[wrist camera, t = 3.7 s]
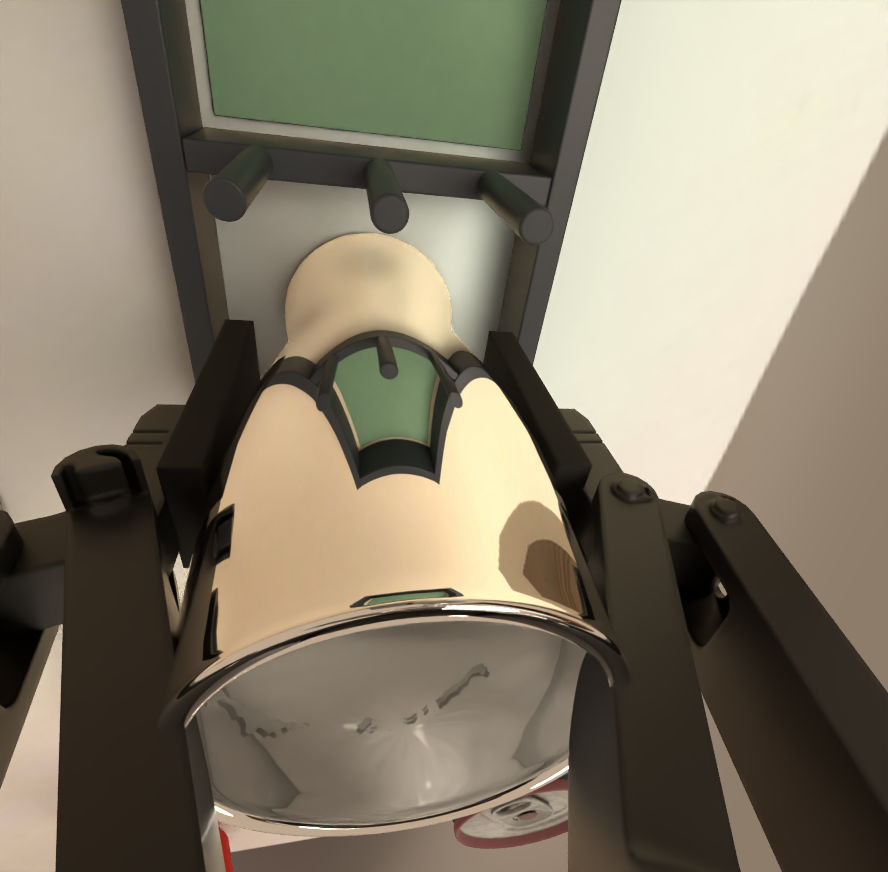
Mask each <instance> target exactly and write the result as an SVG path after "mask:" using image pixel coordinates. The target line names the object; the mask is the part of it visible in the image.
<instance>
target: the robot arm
mask: <svg viewBox="0 0 888 872" xmlns="http://www.w3.org/2000/svg"><path fill="white" fill-rule="evenodd" d="M483 364H484V366H485V367H486V368H487V369H488V370H489V371H490V372H491V374H492V375H493V376H494V377H495V379H496V380H497V381H498V383H499V384H500V385H501V387H502V388H503V389H504V391H505V392H506V393H507V395H508V396H509V397H510V399H511V400H512V401H513V403H514V404H515V405H516V407H517V408H518V410H519V411H520V413H521V414H522V416H523V418H524V420H525V421H526V423H527V425H528V427H529V429H530V430H531V432H532V434H533V436H534V438H535V439H536V441H537V443H538V445H539V447H540V448H541V450H542V452H543V454H544V456H545V458H546V460H547V462H548V464H549V466H550V469H551V471H552V473H553V475H554V478H555V480H556V482H557V485H558V487H559V489H560V491H561V494H562V496H563V498H564V500H565V503H566V505H567V507H568V510H569V512H570V515H571V517H572V520H573V523H574V525H575V528H576V530H577V533H578V536H579V538H580V541H581V544H582V546H583V549H584V552H585V554H586V557H587V559H588V562H589V565H590V568H591V571H592V574H593V577H594V579H595V582H596V585H597V588H598V591H599V594H600V597H601V599H602V602H603V605H604V608H605V610H606V613H607V616H608V618H609V621H610V624H611V626H612V629H613V632H614V634H615V637H616V639H617V642H618V644H619V646H620V649H621V650H622V651H623V653H624V655H625V657H626V658H627V660H628V663H629V665H630V668H631V672H632V677H633V681H632V683H630V684H627V685H616V684H613V685H612V686H611V687H609V685H608V679H607V676H606V674H605V672H604V670H603V668H602V667H601V665H600V664H599V663H598V662H597V661H596V660H595V658H593V657H592V656H591V655H590V654H589V653H587V652H586V654H585V656H584V659H583V662H582V665H581V668H580V672H579V676H578V681H577V686H576V691H575V697H574V704H573V711H572V718H571V727H570V737H569V758H568V872H741V871H740V867H739V864H738V859H737V855H736V850H735V846H734V841H733V837H732V832H731V827H730V823H729V818H728V814H727V809H726V805H725V801H724V796H723V791H722V786H721V782H720V777H719V773H718V768H717V763H716V759H715V754H714V750H713V745H712V741H711V736H710V731H709V727H708V722H707V718H706V713H705V709H704V704H703V700H702V695H701V693H702V694H703V697H704V699H705V701H706V704H707V705H708V708H709V710H710V713H711V715H712V717H713V719H714V721H715V724H716V726H717V728H718V730H719V733H720V734H721V737H722V739H723V741H724V744H725V746H726V748H727V750H728V753H729V754H730V757H731V759H732V761H733V764H734V766H735V768H736V770H737V772H738V775H739V777H740V779H741V781H742V784H743V786H744V788H745V790H746V793H747V795H748V797H749V799H750V801H751V804H752V806H753V808H754V810H755V813H756V815H757V817H758V819H759V821H760V823H761V826H762V828H763V830H764V833H765V835H766V837H767V839H768V841H769V844H770V846H771V848H772V850H773V853H774V855H775V857H776V859H777V861H778V864H779V866H780V868H781V870H782V872H888V692H887V691H886V690H885V688H884V687H883V686H882V684H881V683H880V682H879V680H878V679H877V678H876V676H875V675H874V674H873V672H872V671H871V670H870V668H869V667H868V666H867V664H866V663H865V662H864V660H863V659H862V658H861V656H860V655H859V654H858V652H857V651H856V650H855V648H854V647H853V646H852V644H851V643H850V642H849V640H848V639H847V638H846V636H845V635H844V634H843V632H842V631H841V630H840V629H839V627H838V626H837V624H836V623H835V622H834V620H833V619H832V618H831V616H830V615H829V614H828V612H827V611H826V610H825V608H824V607H823V605H822V604H821V603H820V602H819V601H818V599H817V597H816V596H815V595H814V593H813V592H812V591H811V590H810V588H809V587H808V585H807V584H806V583H805V581H804V580H803V579H802V578H801V576H800V575H799V573H798V572H797V571H796V569H795V568H794V567H793V565H792V564H791V563H790V562H789V560H788V559H787V557H786V556H785V555H784V553H783V552H782V551H781V549H780V548H779V547H778V546H777V544H776V543H775V542H774V540H773V539H772V537H771V536H770V535H769V533H768V532H767V531H766V529H765V528H764V527H763V525H762V524H761V523H760V521H759V520H758V519H757V517H756V516H755V515H754V513H753V512H752V511H751V510H750V509H749V508H748V507H747V506H746V505H744V504H743V503H741V502H740V501H738V500H737V499H735V498H733V497H731V496H728V495H726V494H723V493H718V492H713V491H707V492H701V493H699V494H698V495H696V496H695V498H694V500H693V502H692V504H691V505H685V504H680V503H676V502H671V501H666V500H662V499H659V498H658V496H657V494H656V492H655V490H654V489H653V488H652V487H651V486H650V485H649V484H648V483H646V482H645V481H643V480H641V479H640V478H638V477H635V476H632V475H629V474H626V473H623V471H622V470H621V468H620V467H619V465H618V464H617V462H616V461H615V459H614V458H613V456H612V455H611V453H610V452H609V450H608V449H607V447H606V446H605V444H604V443H602V440H601V438H600V437H599V435H598V434H596V431H595V429H594V428H593V426H592V425H591V423H590V422H589V420H588V419H587V418H585V417H584V416H583V415H581V414H580V413H579V412H578V411H576V410H575V409H558V407H557V405H556V404H555V402H554V400H553V399H552V397H551V395H550V394H549V392H548V390H547V389H546V387H545V385H544V384H543V382H542V380H541V379H540V377H539V375H538V374H537V372H536V370H535V369H534V367H533V365H532V364H531V362H530V360H529V359H528V357H527V356H526V354H525V352H524V351H523V349H522V347H521V346H520V344H519V342H518V341H517V339H516V337H515V336H514V334H513V332H496V331H489V335H488V341H487V346H486V352H485V357H484V363H483ZM259 383H260V375H259V366H258V357H257V348H256V339H255V330H254V321H247V320H225V321H224V323H223V326H222V328H221V330H220V332H219V334H218V336H217V338H216V341H215V343H214V345H213V347H212V349H211V351H210V354H209V356H208V358H207V360H206V362H205V364H204V366H203V369H202V371H201V373H200V375H199V377H198V379H197V381H196V384H195V386H194V388H193V390H192V392H191V394H190V396H189V399H188V401H187V403H186V405H158V404H157V405H156V406H155V407H153V408H152V409H151V410H149V411H148V412H146V413H145V414H144V415H142V416H141V417H140V419H139V421H138V423H137V424H136V426H135V428H134V430H133V433H131V435H130V436H129V438H128V440H127V444H126V445H124V446H120V445H113V444H112V445H100V446H94V447H90V448H86V449H83V450H79V451H77V452H75V453H73V454H71V455H69V456H67V457H65V458H64V459H63V460H62V461H61V462H60V463H59V464H58V465H56V466H55V468H54V470H53V473H52V475H51V478H52V480H53V482H54V484H55V487H56V489H57V491H58V493H59V496H60V498H61V500H62V503H63V505H64V507H65V509H66V511H65V512H62V513H59V514H55V515H52V516H47V517H43V518H38V519H34V520H29V521H25V522H20V523H16V524H14V523H13V521H12V519H11V517H10V516H9V514H8V513H7V512H5V511H3V510H0V788H1V785H2V783H3V780H4V777H5V774H6V772H7V769H8V766H9V763H10V761H11V758H12V755H13V752H14V750H15V747H16V744H17V741H18V739H19V736H20V733H21V730H22V727H23V725H24V722H25V719H26V716H27V714H28V711H29V708H30V705H31V703H32V700H33V697H34V694H35V692H36V689H37V686H38V683H39V681H40V678H41V675H42V672H43V670H44V667H45V664H46V661H47V658H48V656H49V653H50V650H51V647H52V645H53V642H54V639H55V636H56V634H57V631H58V628H59V625H60V624H63V641H62V674H61V708H60V741H59V774H58V807H57V840H56V872H226V869H225V863H224V857H223V851H222V845H221V840H220V834H219V828H218V822H217V816H216V810H215V804H214V800H213V796H212V789H211V783H210V778H209V773H208V768H207V763H206V759H205V754H204V749H203V745H202V740H201V736H200V731H199V727H198V722H197V718H196V714H195V716H194V717H193V718H192V720H191V721H190V723H189V724H188V726H187V728H185V727H184V726H183V727H181V728H177V729H173V730H160V729H158V728H157V726H156V722H157V720H158V718H159V716H160V714H161V711H162V708H163V704H164V700H165V696H166V692H167V688H168V683H169V678H170V673H171V668H172V664H173V658H174V643H175V637H176V631H177V626H178V620H179V615H180V610H181V604H180V599H179V593H178V587H177V581H176V578H175V575H174V571H173V567H174V564H175V561H176V558H177V555H178V553H180V557H181V560H182V564H183V568H189V567H190V562H191V557H192V552H193V548H194V544H195V541H196V537H197V533H198V529H199V526H200V522H201V518H202V515H203V511H204V507H205V503H206V500H207V496H208V493H209V489H210V486H211V484H212V481H213V478H214V476H215V473H216V470H217V468H218V465H219V462H220V460H221V457H222V454H223V451H224V449H225V446H226V443H227V441H228V438H229V436H230V434H231V432H232V430H233V428H234V426H235V424H236V423H237V421H238V419H239V417H240V415H241V414H242V412H243V410H244V408H245V406H246V404H247V403H248V401H249V399H250V397H251V395H252V394H253V392H254V390H255V389H256V387H257V386H258V384H259ZM720 582H721V583H722V585H723V586H724V588H725V590H726V592H727V595H726V596H724V595H723V594H722V592H721V590H720V589H719V587H718V584H719V583H720Z"/></svg>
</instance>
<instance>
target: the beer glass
mask: <svg viewBox="0 0 888 872" xmlns="http://www.w3.org/2000/svg"><path fill="white" fill-rule="evenodd" d="M285 322H286V329H287V334H288V339H289V341H288V342H287V344H286V345H285V347H284V348H283V350H282V351H281V352H280V354H279V355H278V356H277V358H276V359H275V361H274V362H273V363H272V365H271V366H270V368H269V369H268V371H267V372H266V374H265V375H264V377H263V378H262V380H261V381H260V383H259V384H258V386H257V387H256V389H255V390H254V392H253V394H252V395H251V397H250V399H249V401H248V403H247V404H246V406H245V408H244V410H243V412H242V414H241V415H240V417H239V419H238V421H237V423H236V424H235V426H234V428H233V430H232V432H231V434H230V436H229V438H228V441H227V443H226V446H225V449H224V451H223V454H222V457H221V460H220V462H219V465H218V468H217V470H216V473H215V476H214V478H213V481H212V484H211V486H210V489H209V493H208V496H207V500H206V503H205V507H204V511H203V515H202V518H201V522H200V526H199V529H198V533H197V537H196V541H195V544H194V548H193V552H192V557H191V562H190V567H189V571H188V576H187V581H186V586H185V590H184V595H183V600H182V605H181V610H180V615H179V620H178V626H177V631H176V637H175V643H174V658H173V664H172V668H171V673H170V678H169V683H168V688H167V692H166V696H165V700H164V704H163V708H162V711H161V714H160V716H159V718H158V720H157V722H156V726H157V728H158V729H160V730H173V729H177V728H181V727H183V726H184V727H185V728H187V726H188V724H189V723H190V721H191V720H192V718H193V717H194V716H195V714H196V718H197V722H198V727H199V731H200V736H201V740H202V745H203V749H204V754H205V759H206V763H207V768H208V773H209V778H210V783H211V789H212V796H213V800H214V804H215V810H216V816H217V821H219V822H222V823H225V824H228V825H232V826H235V827H239V828H244V829H248V830H253V831H259V832H265V833H273V834H281V835H293V836H353V835H366V834H376V833H384V832H393V831H400V830H405V829H411V828H417V827H422V826H427V825H432V824H437V823H441V822H445V821H449V820H453V819H457V818H461V817H464V816H468V815H471V814H474V813H478V812H481V811H484V810H487V809H490V808H493V807H496V806H498V805H501V804H504V803H506V802H509V801H511V800H514V799H516V798H519V797H521V796H523V795H526V794H528V793H530V792H532V791H534V790H536V789H538V788H540V787H542V786H544V785H546V784H548V783H550V782H552V781H554V780H556V779H557V778H559V777H561V776H562V775H564V774H566V773H567V772H568V758H569V737H570V727H571V718H572V711H573V704H574V697H575V691H576V686H577V681H578V676H579V672H580V668H581V665H582V662H583V659H584V656H585V654H586V652H587V653H589V654H590V655H591V656H592V657H593V658H595V660H596V661H597V662H598V663H599V664H600V665H601V667H602V668H603V670H604V672H605V674H606V676H607V679H608V685H609V687H611V686H612V685H613V684H616V685H627V684H630V683H632V681H633V677H632V672H631V668H630V665H629V663H628V660H627V658H626V657H625V655H624V653H623V651H622V650H621V649H620V646H619V644H618V642H617V639H616V637H615V634H614V632H613V629H612V626H611V624H610V621H609V618H608V616H607V613H606V610H605V608H604V605H603V602H602V599H601V597H600V594H599V591H598V588H597V585H596V582H595V579H594V577H593V574H592V571H591V568H590V565H589V562H588V559H587V557H586V554H585V552H584V549H583V546H582V544H581V541H580V538H579V536H578V533H577V530H576V528H575V525H574V523H573V520H572V517H571V515H570V512H569V510H568V507H567V505H566V503H565V500H564V498H563V496H562V494H561V491H560V489H559V487H558V485H557V482H556V480H555V478H554V475H553V473H552V471H551V469H550V466H549V464H548V462H547V460H546V458H545V456H544V454H543V452H542V450H541V448H540V447H539V445H538V443H537V441H536V439H535V438H534V436H533V434H532V432H531V430H530V429H529V427H528V425H527V423H526V421H525V420H524V418H523V416H522V414H521V413H520V411H519V410H518V408H517V407H516V405H515V404H514V403H513V401H512V400H511V399H510V397H509V396H508V395H507V393H506V392H505V391H504V389H503V388H502V387H501V385H500V384H499V383H498V381H497V380H496V379H495V377H494V376H493V375H492V374H491V372H490V371H489V370H488V369H487V368H486V367H485V366H484V364H483V363H482V362H481V361H480V360H479V359H478V358H477V357H476V356H475V355H474V353H473V352H472V351H471V350H470V349H469V348H468V347H467V346H466V345H465V344H464V343H463V342H462V341H461V340H460V338H459V337H458V336H457V335H456V334H455V333H454V332H453V331H452V330H451V324H452V307H451V300H450V296H449V292H448V289H447V287H446V284H445V282H444V280H443V278H442V276H441V274H440V273H439V271H438V270H437V268H436V267H435V266H434V264H433V263H432V262H431V261H430V260H429V259H428V258H427V257H426V256H425V255H424V254H423V253H421V252H420V251H419V250H417V249H416V248H415V247H413V246H411V245H410V244H408V243H406V242H404V241H402V240H399V239H397V238H394V237H390V236H387V235H382V234H375V233H357V234H351V235H346V236H342V237H339V238H336V239H334V240H331V241H329V242H327V243H325V244H323V245H322V246H320V247H319V248H317V249H316V250H314V251H313V252H312V253H311V254H310V255H309V256H308V257H306V259H305V260H304V261H303V262H302V263H301V264H300V266H299V267H298V268H297V270H296V272H295V273H294V275H293V277H292V279H291V281H290V284H289V287H288V291H287V295H286V301H285Z"/></svg>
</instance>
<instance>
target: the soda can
mask: <svg viewBox="0 0 888 872" xmlns="http://www.w3.org/2000/svg"><path fill="white" fill-rule="evenodd" d="M453 822H454V832H455V836H456V839H457V840H458V841H459V842H460V843H462V844H464V845H466V846H469V847H474V848H484V849H490V848H491V849H492V848H493V849H495V848H507V847H515V846H521V845H525V844H530V843H534V842H538V841H542V840H545V839H549V838H552V837H554V836H557V835H560V834H562V833H565V832H567V831H568V772H567V773H566V774H564V775H562V776H561V777H559V778H557V779H556V780H554V781H552V782H550V783H548V784H546V785H544V786H542V787H540V788H538V789H536V790H534V791H532V792H530V793H528V794H526V795H523V796H521V797H519V798H516V799H514V800H511V801H509V802H506V803H504V804H501V805H498V806H496V807H493V808H490V809H487V810H484V811H481V812H478V813H474V814H471V815H468V816H464V817H461V818H457V819H453Z"/></svg>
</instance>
